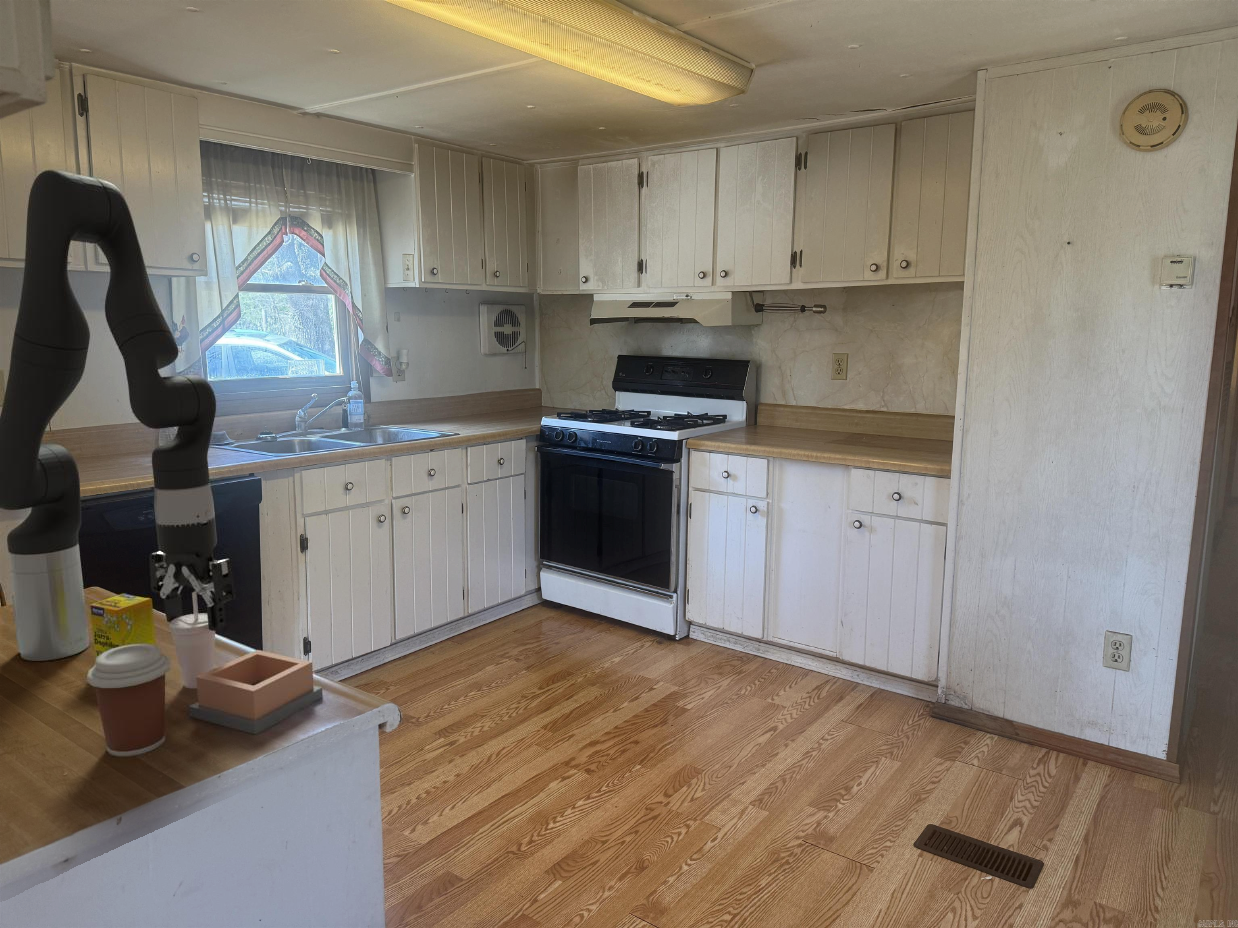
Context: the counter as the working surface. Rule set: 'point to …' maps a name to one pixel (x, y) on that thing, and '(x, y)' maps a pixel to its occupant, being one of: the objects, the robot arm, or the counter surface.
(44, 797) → the counter surface
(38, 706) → the counter surface
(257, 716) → the socket
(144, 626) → the supplement box
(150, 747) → the coffee cup
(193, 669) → the smoothie
